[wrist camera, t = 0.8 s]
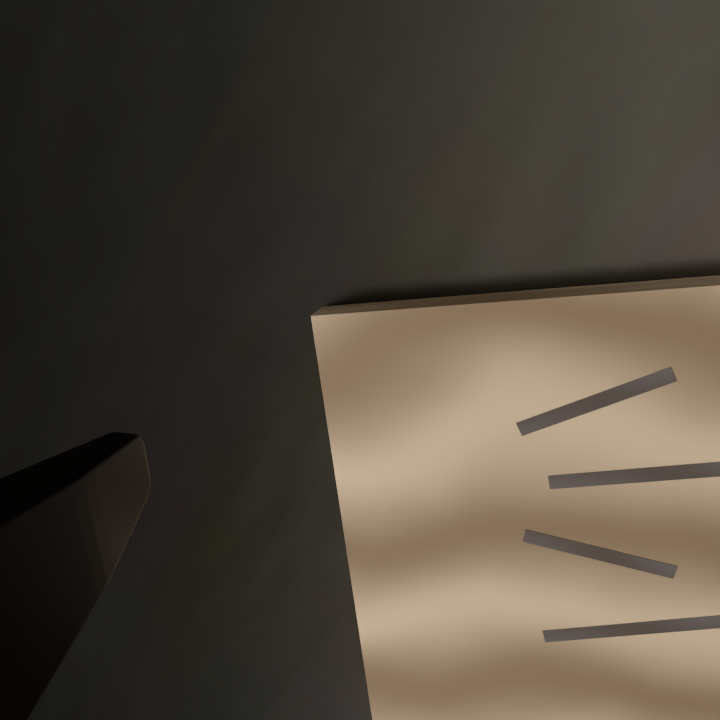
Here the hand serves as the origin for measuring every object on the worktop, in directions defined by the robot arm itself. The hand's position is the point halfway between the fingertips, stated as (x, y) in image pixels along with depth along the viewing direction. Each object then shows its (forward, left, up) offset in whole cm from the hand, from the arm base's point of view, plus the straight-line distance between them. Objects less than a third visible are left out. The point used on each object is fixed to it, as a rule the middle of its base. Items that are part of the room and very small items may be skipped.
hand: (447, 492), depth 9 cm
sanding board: (-9, -4, -14) cm, 17 cm away
